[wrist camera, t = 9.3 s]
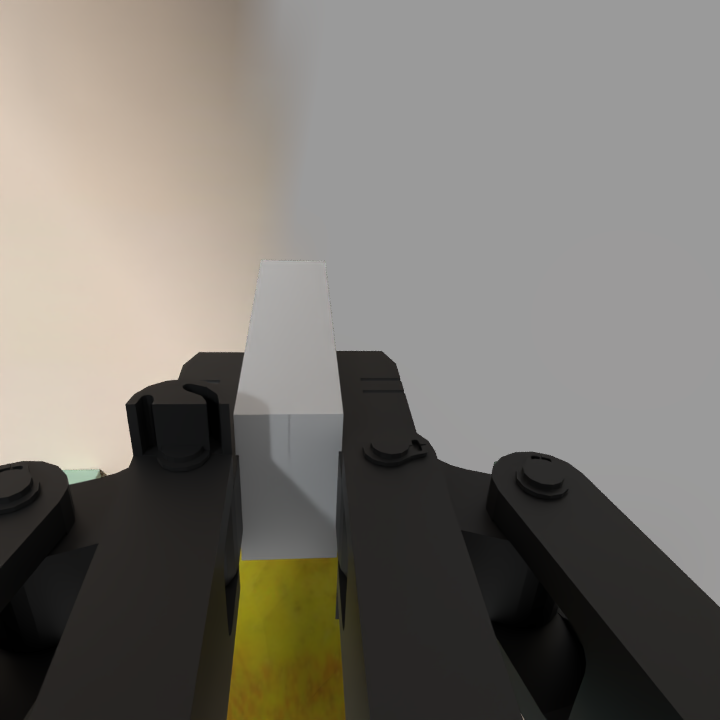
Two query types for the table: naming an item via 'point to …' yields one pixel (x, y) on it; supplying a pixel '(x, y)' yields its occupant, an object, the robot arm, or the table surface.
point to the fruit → (287, 642)
